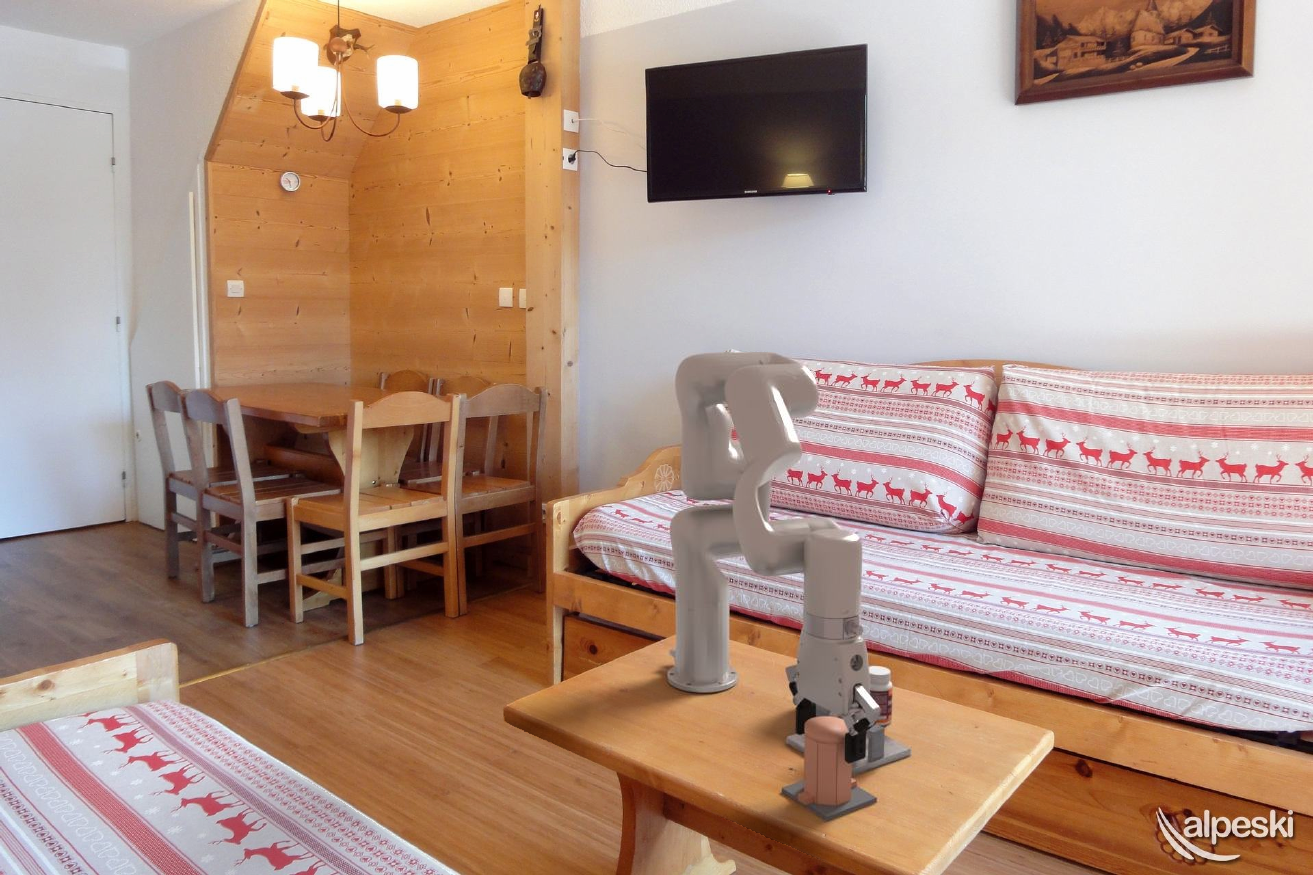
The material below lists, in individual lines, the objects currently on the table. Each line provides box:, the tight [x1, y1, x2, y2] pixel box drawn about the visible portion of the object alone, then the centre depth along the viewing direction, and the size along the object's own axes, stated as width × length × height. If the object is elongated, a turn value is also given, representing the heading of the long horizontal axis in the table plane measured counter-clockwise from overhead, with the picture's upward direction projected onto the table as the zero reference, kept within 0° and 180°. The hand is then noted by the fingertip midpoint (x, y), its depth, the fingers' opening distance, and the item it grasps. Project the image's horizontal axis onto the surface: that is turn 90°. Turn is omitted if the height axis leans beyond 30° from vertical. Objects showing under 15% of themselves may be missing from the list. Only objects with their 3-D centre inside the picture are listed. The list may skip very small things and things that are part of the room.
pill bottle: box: [863, 665, 894, 727], centre depth 151 cm, size 5×5×8 cm
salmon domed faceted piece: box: [798, 716, 858, 806], centre depth 127 cm, size 9×6×10 cm
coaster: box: [781, 779, 878, 822], centre depth 127 cm, size 9×9×1 cm
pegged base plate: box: [786, 704, 912, 777], centre depth 141 cm, size 13×13×11 cm
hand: (829, 745), depth 127 cm, fingers open, 9 cm apart
